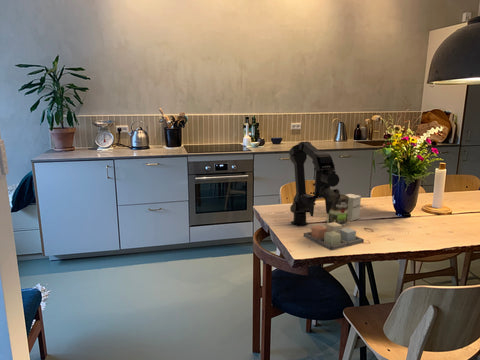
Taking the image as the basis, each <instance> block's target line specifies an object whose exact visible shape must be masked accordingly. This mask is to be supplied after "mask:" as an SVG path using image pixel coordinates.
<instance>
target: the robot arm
mask: <svg viewBox="0 0 480 360" xmlns="http://www.w3.org/2000/svg"><path fill="white" fill-rule="evenodd" d="M288 153H289V158H290V161H291V163H292V164H293V167H294V181H295V195H294V196H293V198H292V199H293V202H292V204H291V206H290V208H289V209H290V213H293V220H292V221H290V223H291V224H293V225H295V226H298V227H301V226H305V225H309V222H307V214H308V213H309V215H310V217H312V218H313V217H314V211H315V210H314V209H315V205H316V201H317V200H321V199H322V200H323V199H324V203H325V211H326V212H325V213H326V214H329V212H330V209H331V207H332V205H333V203H334V202H335V201H337V200H338V199H340V194H341V193H340V189H338V188H334V189H331V187H332V188H333V187H336V186H338V184H339V183H340V176H339V175H338V174H337V173H336V172H337V171H336V167H335V163H334V161H333V157H332V155H331V154H330V153H328V152H324V151H320V150H319V148H317V147H316V146H314V145H313V144H312V143H311V141H307V140H306V141H300V142H298V144H295V145H293V146H292V147H291V148H290V149H289V152H288ZM307 156H308V157H310V158H311V159H312V164H313V165H314V168H313V170H314V171H315V174H314V175H315V177H314V182H313V183H312V186H314V191H312V194H309V193H307V189H306V188H307V187H306V176H305V175H306V174H305V163H306V161H307V159H308V157H307Z"/></svg>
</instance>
